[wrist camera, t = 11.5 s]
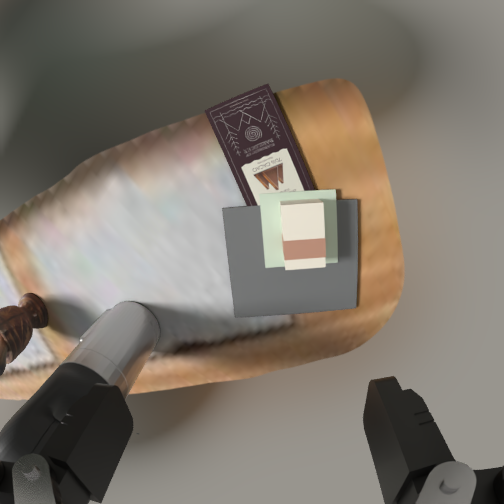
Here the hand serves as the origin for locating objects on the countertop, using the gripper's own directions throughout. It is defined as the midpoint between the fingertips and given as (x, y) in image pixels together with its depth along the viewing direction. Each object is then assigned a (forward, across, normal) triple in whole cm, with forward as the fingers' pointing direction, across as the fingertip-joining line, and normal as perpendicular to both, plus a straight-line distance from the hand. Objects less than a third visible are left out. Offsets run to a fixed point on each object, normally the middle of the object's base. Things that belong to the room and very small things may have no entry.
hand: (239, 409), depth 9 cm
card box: (+33, -5, +2) cm, 34 cm away
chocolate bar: (+35, -1, -8) cm, 36 cm away
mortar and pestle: (+34, +43, +13) cm, 57 cm away
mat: (+34, -4, +6) cm, 35 cm away
